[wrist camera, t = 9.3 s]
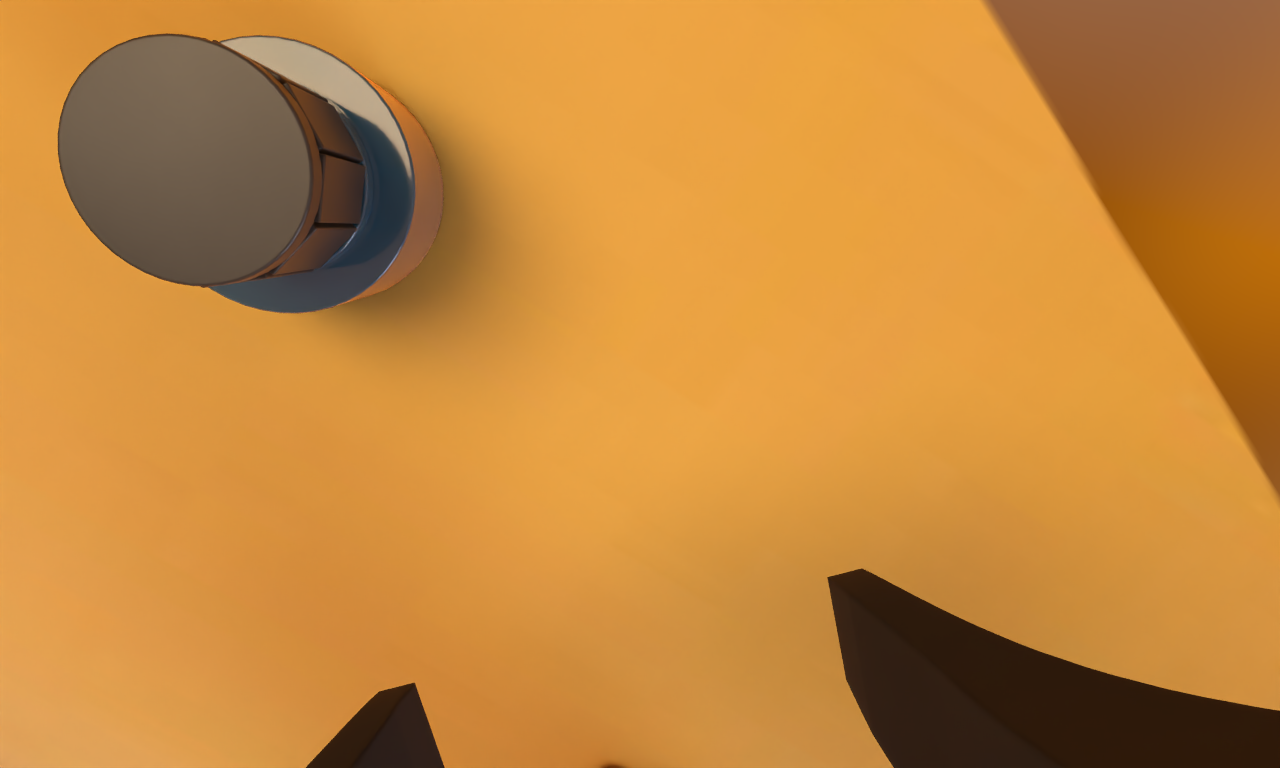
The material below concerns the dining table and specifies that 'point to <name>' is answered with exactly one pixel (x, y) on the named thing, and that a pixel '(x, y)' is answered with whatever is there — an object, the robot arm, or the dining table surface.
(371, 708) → the robot arm
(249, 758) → the dining table surface
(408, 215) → the bottle
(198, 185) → the cap
